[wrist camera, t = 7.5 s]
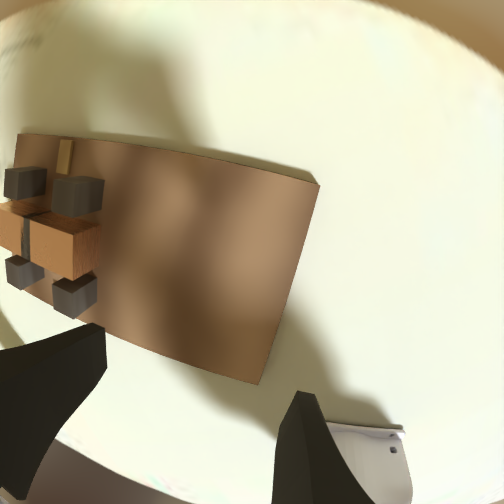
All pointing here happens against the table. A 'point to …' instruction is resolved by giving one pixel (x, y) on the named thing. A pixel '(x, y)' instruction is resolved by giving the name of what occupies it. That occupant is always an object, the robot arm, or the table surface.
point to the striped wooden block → (50, 238)
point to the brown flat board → (169, 246)
